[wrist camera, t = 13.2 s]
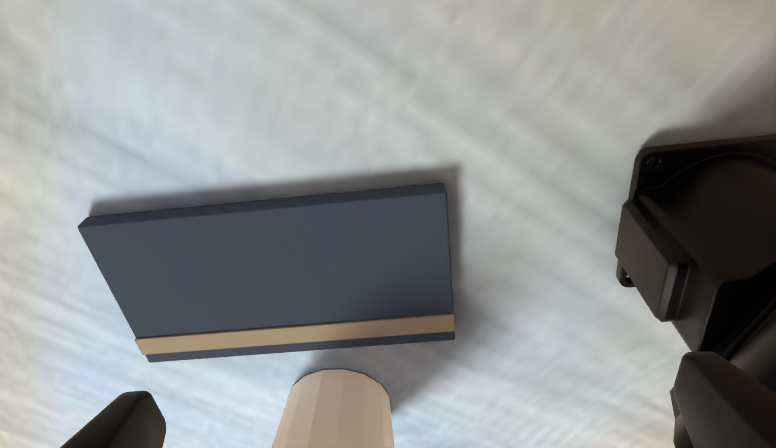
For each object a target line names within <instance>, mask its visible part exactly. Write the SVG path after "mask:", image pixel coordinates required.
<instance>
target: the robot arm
mask: <svg viewBox="0 0 776 448" xmlns="http://www.w3.org/2000/svg"><path fill="white" fill-rule="evenodd" d="M653 157H655V160H654V162H653V163H651V164H649V165H646V163H647V161H648V160H649V159H650V158H653ZM615 255H616V257H617V258H618V265H617V271H616V277H617V279H618V280H619V282H620V283H621V285H622V286H624V287H636V288H637V290H638V291H639V293H640V294H641V296H642V297H643V299H644V300H645V302H646V304H647V305H648V307H649V308H650V310H651V311H652V313H653V314H654V316H655V317H656V318H657V319H659V320H660V321H661V322H667V321H671V322H672V324H673V325H674V327H675V328H676V330H677V331H678V332H679V334H680V335H681V337H682V338H683V340H684V341H685V343H686V344H687V346H688V347H689V349H690V350H691V352H688V353H686V354H685V355H684V356H683V357H682V359H681V363H680V366H679V370H678V373H677V377H676V380H675V384H674V387H673V388H672V389H671V390H670V395H671V400H672V406H673V411H674V416H675V428H674V445H675V448H776V135H767V136H757V137H747V138H737V139H727V140H716V141H706V142H696V143H686V144H676V145H666V146H655V147H649V148H645V149H643V150H642V151H640V152H639V154H638V155H637V156H636V159H635V162H634V168H633V174H632V180H631V187H630V193H629V199H628V200H627V201H626V202H625V203H624V205H623V206H622V212H621V218H620V224H619V231H618V237H617V243H616V250H615ZM626 276H629V277H626ZM165 434H166V422H165V419H164V417H163V415H162V413H161V411H160V410H159V408H158V406H157V404H156V402H155V401H154V399H153V397H152V395H151V394H150V393H149V392H147V391H134V392H125V393H123V394H121V395H120V396H118V397H117V398H116V399H115V400H114V401H113V402H111V403H110V404H109V405H108V406H107V407H106V408H105V409H103V410H102V411H101V412H100V413H99V414H98V415H97V416H96V417H94V418H93V419H92V420H91V421H90V422H89V423H88V424H86V425H85V426H84V427H83V428H82V429H81V430H80V431H79V432H77V433H76V434H75V435H74V436H73V437H72V438H71V439H69V440H68V441H67V442H66V443H65V444H64V445H63V446H61V447H60V448H162V447H163V443H164V439H165Z"/></svg>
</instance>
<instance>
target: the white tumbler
mask: <svg viewBox="0 0 776 448" xmlns="http://www.w3.org/2000/svg"><path fill="white" fill-rule="evenodd" d="M272 448H394V439H393V429H392V419H391V409H390V399H389V395H388V394H387V393H386V391H385V390H384V388H383V387H382V386H381V384H380V383H378V382H376V381H375V380H373V379H371V378H370V377H368V376H366V375H365V374H361V373H357V372H353V371H349V370H345V369H337V370H321V371H318V372H315V373H312V374H309V375H306V376H304V377H303V378H302V379H301V380H299V381H298V382H297V383H296V384H295V385H293V386H292V388H291V391H290V394H289V396H288V399H287V402H286V405H285V408H284V411H283V414H282V417H281V420H280V424H279V427H278V430H277V433H276V436H275V439H274V442H273V445H272Z"/></svg>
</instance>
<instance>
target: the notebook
mask: <svg viewBox="0 0 776 448" xmlns="http://www.w3.org/2000/svg"><path fill="white" fill-rule="evenodd" d="M78 229H79V231H80V233H81V235H82V237H83V239H84V241H85V243H86V244H87V246H88V248H89V250H90V252H91V254H92V256H93V258H94V259H95V261H96V263H97V265H98V267H99V269H100V271H101V273H102V275H103V276H104V278H105V280H106V282H107V284H108V286H109V288H110V290H111V291H112V293H113V295H114V297H115V299H116V301H117V303H118V305H119V306H120V308H121V310H122V312H123V314H124V316H125V318H126V320H127V322H128V323H129V325H130V327H131V329H132V331H133V333H134V335H135V337H136V339H135V341H136V343H137V345H138V347H139V349H140V351H141V353H142V355H146V357H147V359H148V361H149V362H163V361H176V360H189V359H203V358H216V357H230V356H243V355H256V354H270V353H283V352H297V351H310V350H324V349H337V348H350V347H364V346H377V345H391V344H404V343H417V342H431V341H444V340H454V339H455V326H454V313H453V296H452V278H451V261H450V244H449V227H448V210H447V193H446V187H445V184H444V183H439V184H428V185H418V186H408V187H397V188H387V189H376V190H366V191H356V192H345V193H335V194H324V195H314V196H304V197H293V198H283V199H272V200H262V201H252V202H241V203H231V204H220V205H210V206H200V207H189V208H179V209H169V210H158V211H148V212H137V213H127V214H117V215H106V216H96V217H87V218H86V219H85V220H84V221H83V222H82V223H81V224H80V225H79V226H78Z"/></svg>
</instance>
